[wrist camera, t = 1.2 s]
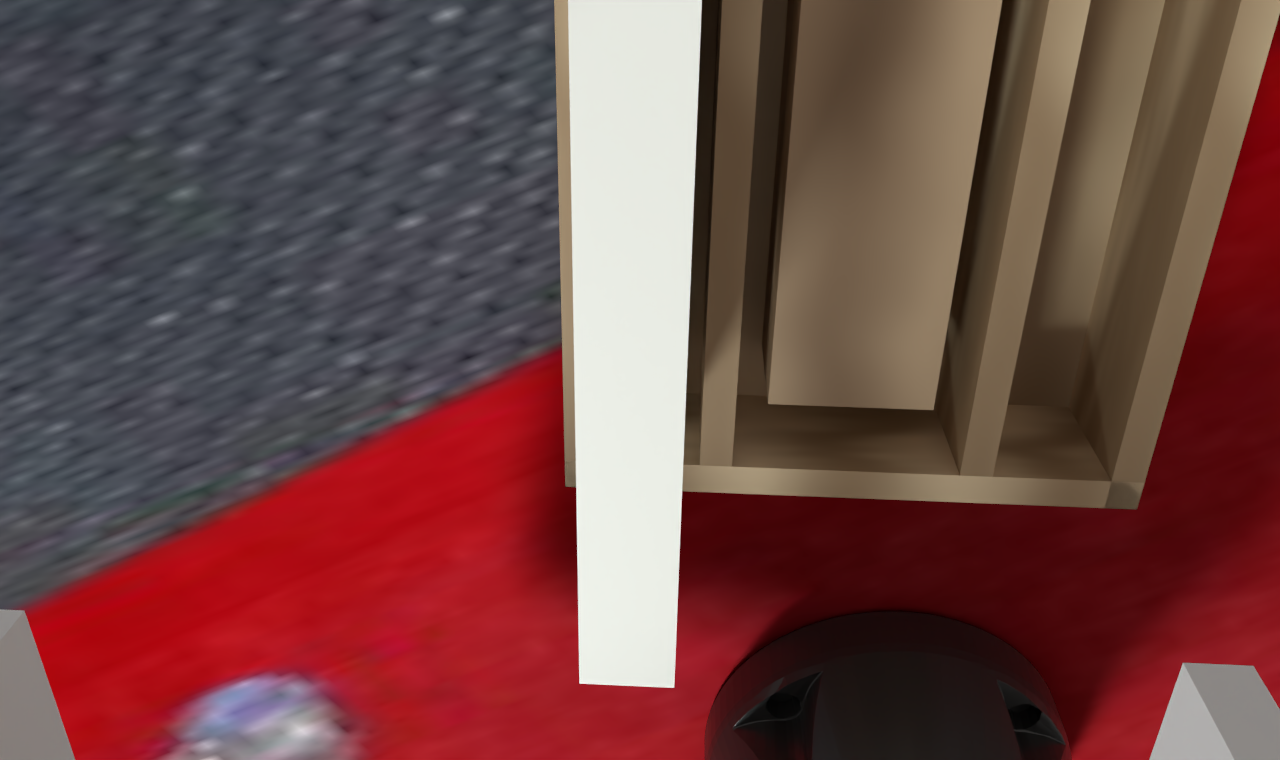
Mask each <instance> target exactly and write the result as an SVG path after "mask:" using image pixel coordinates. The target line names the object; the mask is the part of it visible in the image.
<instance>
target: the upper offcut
mask: <svg viewBox="0 0 1280 760" xmlns="http://www.w3.org/2000/svg"><path fill="white" fill-rule="evenodd" d="M1001 6H1002V0H794V11H793V24H792V36H791V49H790V61H789V74H788V87H787V99H786V112H785V124H784V137H783V149H782V162H781V174H780V187H779V200H778V212H777V225H776V237H775V250H774V262H773V275H772V288H771V300H770V313H769V325H768V338H767V350H766V363H765V380H766V389H767V399H768V404H780V405H807V406H834V407H861V408H888V409H915V410H934V404H935V398H936V392H937V386H938V380H939V374H940V368H941V362H942V357H943V351H944V345H945V339H946V333H947V327H948V321H949V315H950V309H951V303H952V297H953V291H954V285H955V279H956V273H957V267H958V261H959V255H960V250H961V244H962V238H963V232H964V226H965V220H966V214H967V208H968V202H969V196H970V190H971V184H972V178H973V172H974V166H975V160H976V154H977V148H978V142H979V137H980V131H981V125H982V119H983V113H984V107H985V101H986V95H987V89H988V83H989V77H990V71H991V65H992V59H993V53H994V47H995V41H996V35H997V30H998V24H999V18H1000V12H1001Z"/></svg>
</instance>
